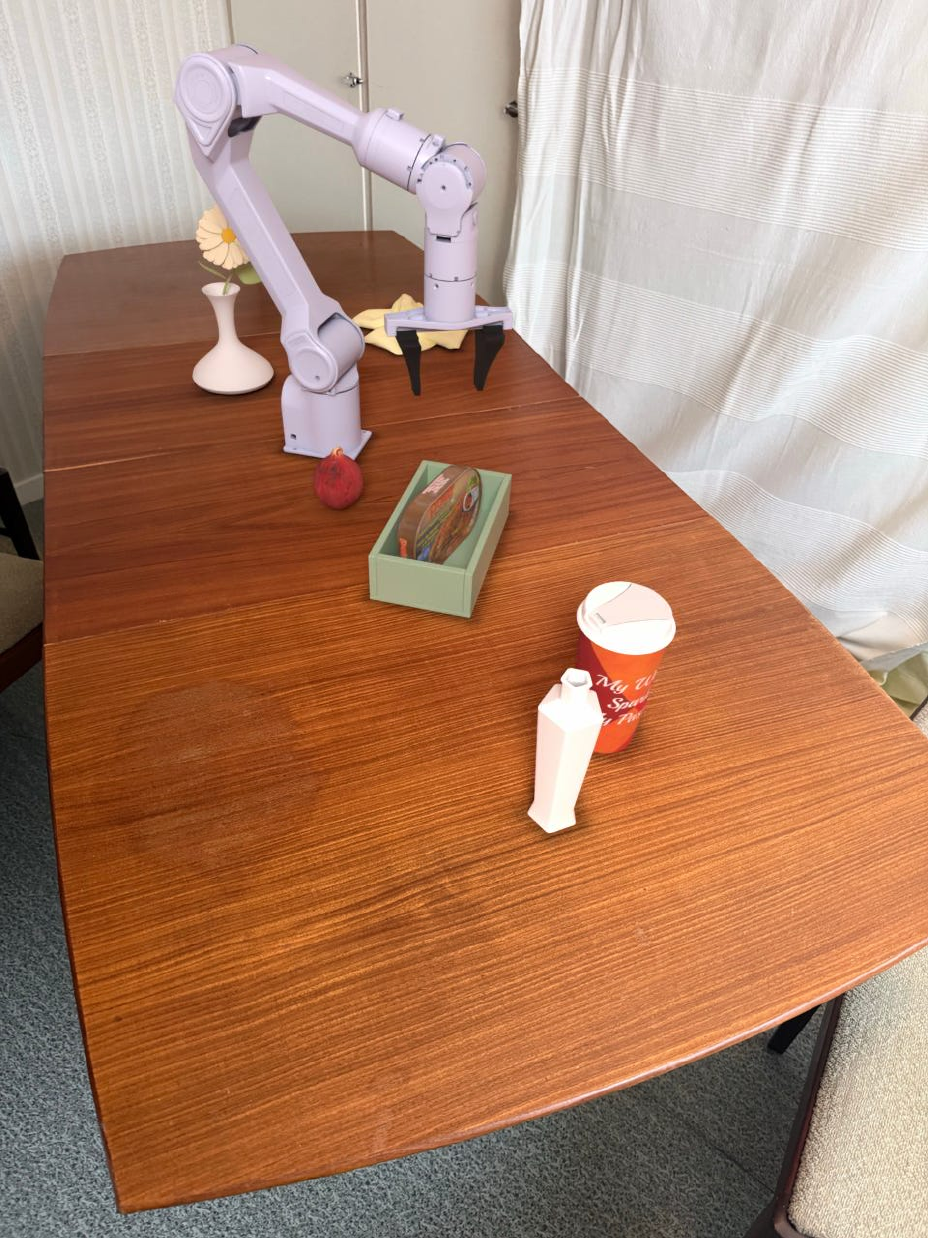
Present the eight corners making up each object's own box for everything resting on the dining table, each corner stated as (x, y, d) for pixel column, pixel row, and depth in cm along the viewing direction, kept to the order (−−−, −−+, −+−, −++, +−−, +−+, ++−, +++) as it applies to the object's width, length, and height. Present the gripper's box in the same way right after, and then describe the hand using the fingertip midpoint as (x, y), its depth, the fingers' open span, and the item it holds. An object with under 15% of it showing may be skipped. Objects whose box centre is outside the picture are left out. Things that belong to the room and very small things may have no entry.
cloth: (485, 347, 135) (487, 309, 131) (377, 362, 129) (375, 323, 125) (433, 299, 150) (434, 264, 146) (334, 311, 144) (332, 274, 140)
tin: (417, 591, 86) (418, 523, 80) (391, 581, 87) (390, 514, 81) (483, 520, 96) (487, 456, 91) (459, 513, 97) (461, 448, 92)
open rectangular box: (369, 599, 85) (368, 556, 82) (422, 499, 100) (422, 459, 96) (469, 618, 84) (472, 575, 80) (508, 514, 98) (512, 474, 95)
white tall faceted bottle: (519, 790, 68) (537, 656, 58) (571, 788, 68) (598, 654, 58) (526, 838, 64) (547, 704, 54) (582, 835, 65) (613, 702, 55)
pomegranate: (356, 526, 95) (353, 464, 90) (308, 518, 96) (302, 457, 91) (370, 499, 99) (368, 439, 94) (324, 492, 100) (319, 432, 95)
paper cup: (589, 775, 69) (617, 653, 60) (541, 713, 74) (560, 592, 65) (664, 744, 72) (701, 623, 63) (613, 687, 77) (640, 567, 68)
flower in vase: (178, 392, 118) (140, 202, 102) (224, 362, 126) (196, 181, 110) (256, 411, 115) (231, 218, 99) (299, 379, 123) (282, 196, 107)
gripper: (504, 258, 95) (496, 371, 104) (378, 263, 92) (381, 379, 101) (521, 279, 90) (512, 396, 99) (389, 285, 87) (391, 405, 96)
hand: (447, 389), depth 99 cm, fingers open, 7 cm apart
